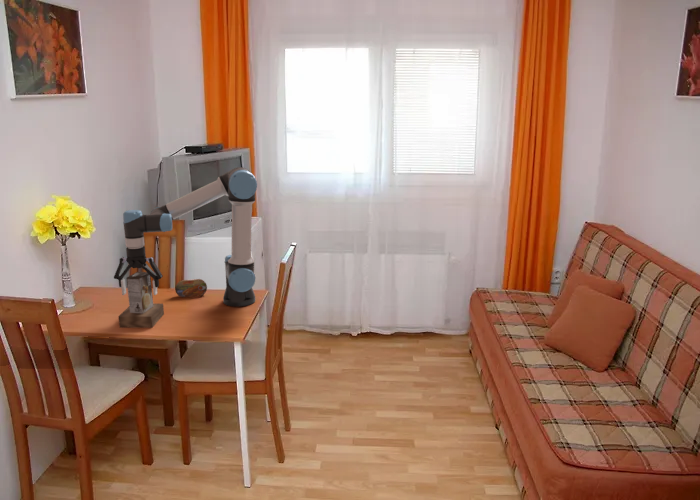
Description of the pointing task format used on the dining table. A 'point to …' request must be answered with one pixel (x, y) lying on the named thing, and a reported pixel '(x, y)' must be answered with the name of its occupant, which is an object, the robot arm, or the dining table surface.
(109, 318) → the dining table surface
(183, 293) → the tin
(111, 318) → the dining table surface
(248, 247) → the robot arm
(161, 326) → the dining table surface
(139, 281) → the coffee box
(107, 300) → the dining table surface
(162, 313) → the walnut plinth
